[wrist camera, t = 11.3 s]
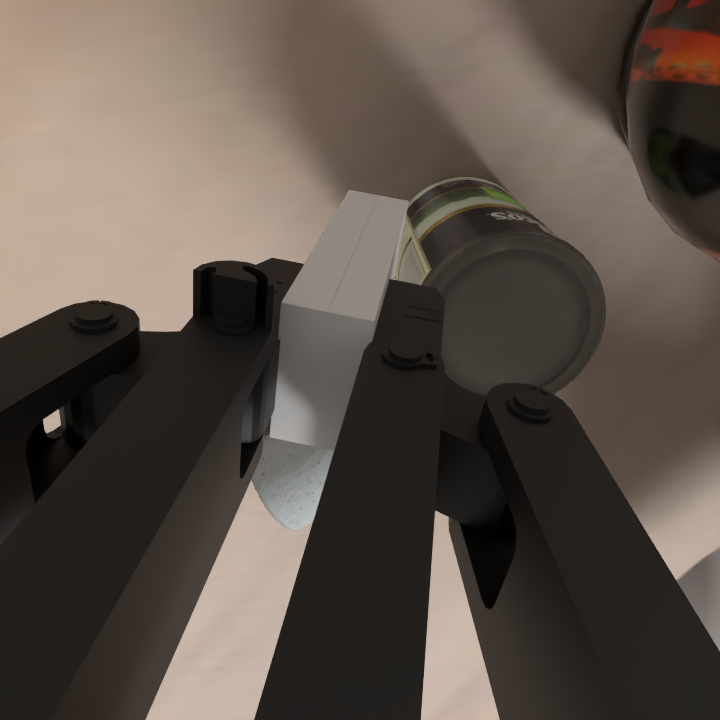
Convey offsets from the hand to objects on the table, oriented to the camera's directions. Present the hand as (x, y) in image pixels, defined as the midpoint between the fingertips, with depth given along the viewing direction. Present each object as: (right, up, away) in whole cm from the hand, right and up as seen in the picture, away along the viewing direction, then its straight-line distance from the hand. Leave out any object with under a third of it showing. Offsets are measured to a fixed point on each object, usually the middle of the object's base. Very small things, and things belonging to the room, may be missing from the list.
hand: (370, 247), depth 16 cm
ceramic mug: (-5, -8, +36) cm, 37 cm away
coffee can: (+7, +5, +30) cm, 31 cm away
